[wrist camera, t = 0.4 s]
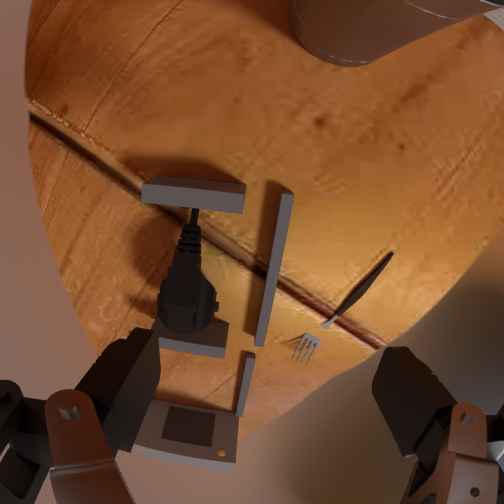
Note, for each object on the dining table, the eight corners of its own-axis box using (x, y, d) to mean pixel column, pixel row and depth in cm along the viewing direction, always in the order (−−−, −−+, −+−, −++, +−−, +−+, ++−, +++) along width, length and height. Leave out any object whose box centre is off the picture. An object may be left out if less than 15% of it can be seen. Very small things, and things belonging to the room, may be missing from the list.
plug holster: (158, 175, 24) (141, 183, 20) (292, 191, 24) (297, 202, 21) (159, 322, 31) (149, 345, 27) (263, 338, 31) (263, 363, 27)
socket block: (134, 333, 32) (107, 387, 23) (255, 353, 32) (253, 415, 24) (149, 409, 39) (135, 453, 31) (239, 425, 39) (236, 472, 31)
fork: (398, 257, 27) (406, 265, 25) (305, 354, 33) (307, 366, 31) (383, 243, 26) (391, 252, 25) (288, 346, 32) (290, 357, 30)
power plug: (228, 197, 24) (210, 341, 22) (231, 223, 31) (217, 333, 29) (165, 191, 24) (143, 330, 21) (181, 218, 31) (166, 325, 29)
